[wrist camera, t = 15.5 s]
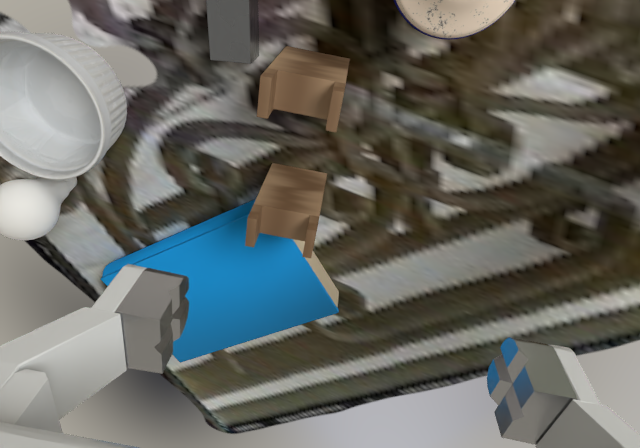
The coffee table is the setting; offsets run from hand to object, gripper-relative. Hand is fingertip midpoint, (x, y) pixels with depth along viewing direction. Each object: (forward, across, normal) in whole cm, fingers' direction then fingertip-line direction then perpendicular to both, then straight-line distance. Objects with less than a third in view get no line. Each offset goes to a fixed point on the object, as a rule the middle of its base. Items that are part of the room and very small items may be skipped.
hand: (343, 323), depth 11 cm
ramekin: (+34, +28, +9) cm, 45 cm away
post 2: (+34, +4, +14) cm, 37 cm away
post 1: (+34, +4, +2) cm, 34 cm away
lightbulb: (+34, +30, +19) cm, 49 cm away
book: (+35, +11, +30) cm, 47 cm away
